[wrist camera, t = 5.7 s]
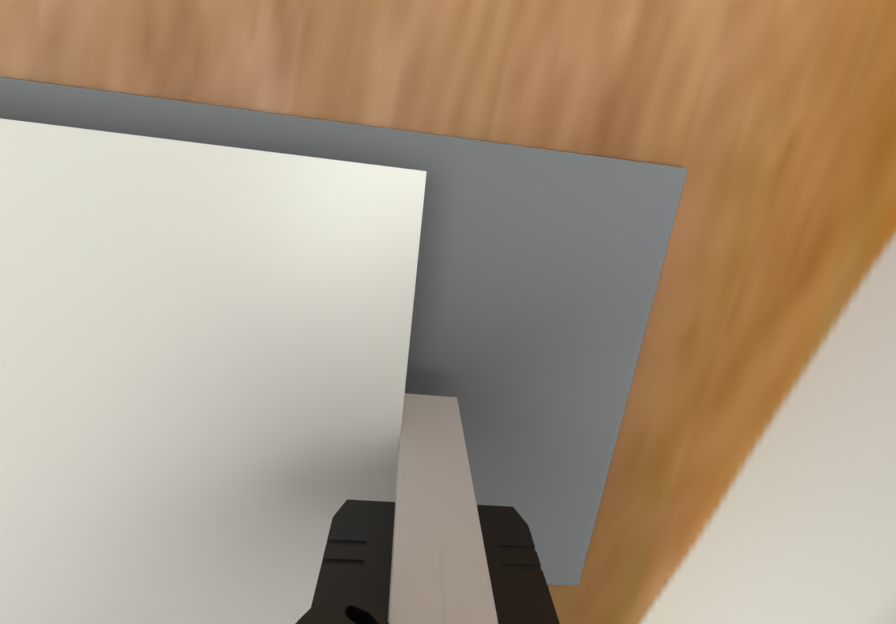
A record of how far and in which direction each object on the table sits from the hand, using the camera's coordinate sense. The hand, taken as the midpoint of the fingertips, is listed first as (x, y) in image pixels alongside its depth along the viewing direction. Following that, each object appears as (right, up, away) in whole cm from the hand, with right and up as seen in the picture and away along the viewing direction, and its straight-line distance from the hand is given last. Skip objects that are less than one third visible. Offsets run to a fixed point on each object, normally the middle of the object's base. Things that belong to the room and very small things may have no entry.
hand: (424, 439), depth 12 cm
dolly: (-9, +2, +1) cm, 10 cm away
